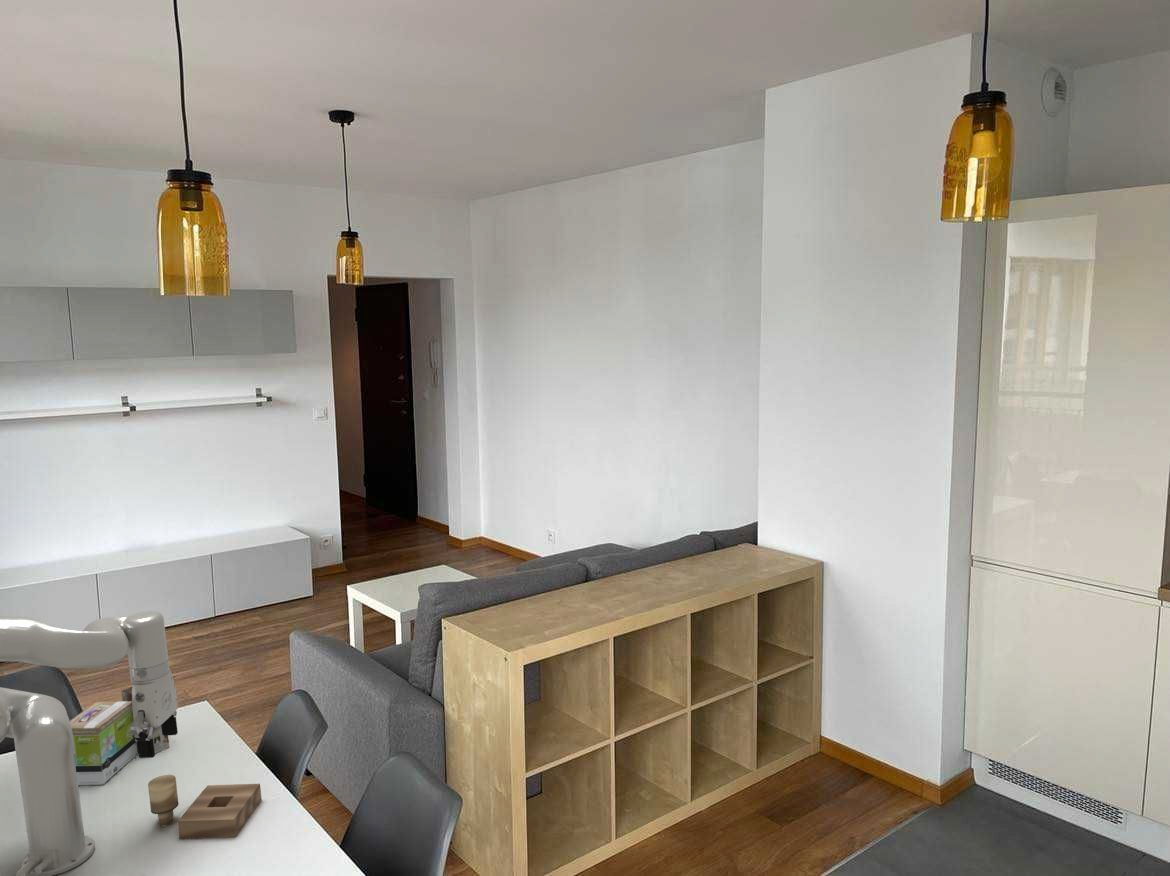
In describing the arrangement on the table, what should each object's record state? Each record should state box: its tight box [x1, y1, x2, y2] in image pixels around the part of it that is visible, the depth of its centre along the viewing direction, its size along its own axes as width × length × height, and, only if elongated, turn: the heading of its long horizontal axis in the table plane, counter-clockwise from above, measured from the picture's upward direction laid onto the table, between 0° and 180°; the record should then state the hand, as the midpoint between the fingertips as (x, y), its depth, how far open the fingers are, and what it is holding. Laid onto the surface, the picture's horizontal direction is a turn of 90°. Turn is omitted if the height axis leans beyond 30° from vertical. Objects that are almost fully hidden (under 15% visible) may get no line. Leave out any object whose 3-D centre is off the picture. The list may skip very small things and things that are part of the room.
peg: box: [147, 774, 180, 827], centre depth 183 cm, size 5×5×10 cm
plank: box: [176, 783, 263, 840], centre depth 184 cm, size 14×12×4 cm
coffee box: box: [121, 686, 170, 754], centre depth 217 cm, size 9×6×16 cm
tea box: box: [69, 701, 138, 786], centre depth 207 cm, size 15×10×15 cm, turn 179°
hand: (158, 745), depth 181 cm, fingers open, 9 cm apart
